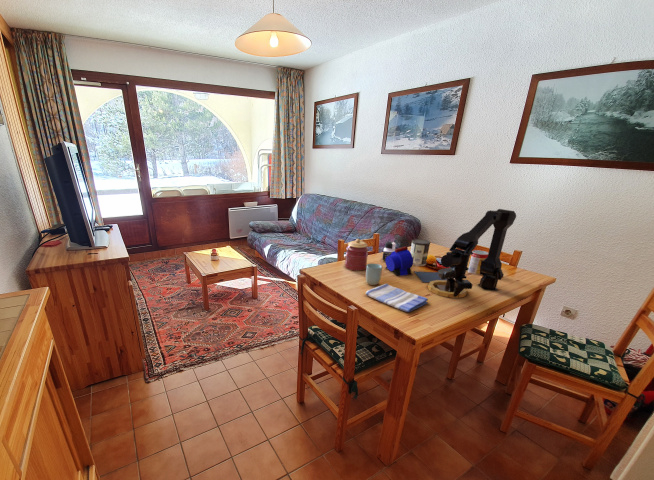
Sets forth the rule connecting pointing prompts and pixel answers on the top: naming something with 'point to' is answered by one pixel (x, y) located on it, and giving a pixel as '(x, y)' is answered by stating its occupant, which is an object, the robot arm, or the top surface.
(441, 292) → the hoop
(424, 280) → the felt mat
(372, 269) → the cup
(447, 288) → the peg stand
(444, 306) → the top surface
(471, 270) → the canned food
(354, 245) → the kitchen canister
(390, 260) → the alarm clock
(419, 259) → the coffee can
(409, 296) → the dish towel
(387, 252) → the medicine bottle
